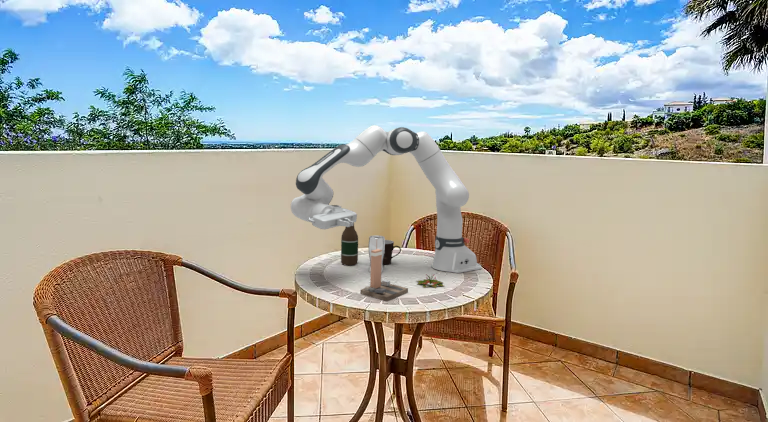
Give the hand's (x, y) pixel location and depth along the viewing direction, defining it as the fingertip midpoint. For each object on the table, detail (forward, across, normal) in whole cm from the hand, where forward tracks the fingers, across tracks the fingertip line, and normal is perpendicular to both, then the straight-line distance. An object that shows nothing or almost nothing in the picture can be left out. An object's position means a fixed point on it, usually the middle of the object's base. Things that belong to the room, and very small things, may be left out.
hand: (351, 224), depth 171 cm
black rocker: (+20, -5, +18) cm, 28 cm away
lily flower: (+26, +21, +22) cm, 40 cm away
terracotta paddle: (+15, -1, +20) cm, 25 cm away
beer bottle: (-16, +24, +27) cm, 39 cm away
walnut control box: (+19, 0, +21) cm, 28 cm away
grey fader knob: (+17, +4, +20) cm, 26 cm away
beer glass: (0, +21, +25) cm, 33 cm away
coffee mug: (-4, +34, +26) cm, 43 cm away
